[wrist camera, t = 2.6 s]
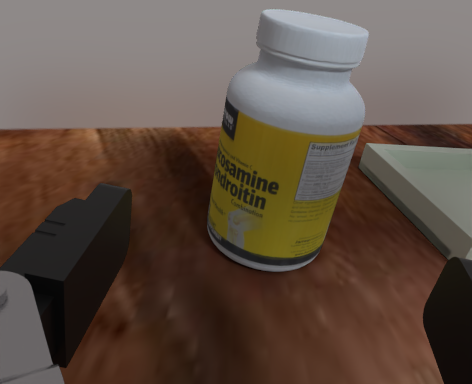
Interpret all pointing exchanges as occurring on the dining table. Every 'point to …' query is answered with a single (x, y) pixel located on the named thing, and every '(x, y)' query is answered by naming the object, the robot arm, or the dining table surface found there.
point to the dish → (427, 190)
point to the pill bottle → (286, 141)
